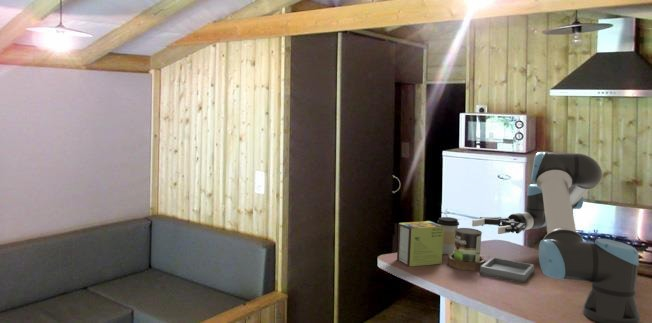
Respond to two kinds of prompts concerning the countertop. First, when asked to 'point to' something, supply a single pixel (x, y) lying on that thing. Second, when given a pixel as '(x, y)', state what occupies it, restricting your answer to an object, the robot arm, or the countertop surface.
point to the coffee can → (467, 244)
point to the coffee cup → (448, 233)
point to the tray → (507, 269)
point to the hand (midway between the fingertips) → (485, 226)
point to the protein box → (420, 243)
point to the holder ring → (465, 263)
